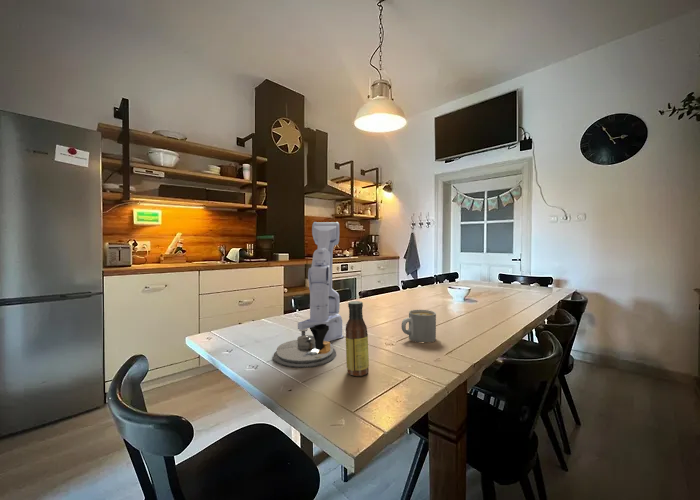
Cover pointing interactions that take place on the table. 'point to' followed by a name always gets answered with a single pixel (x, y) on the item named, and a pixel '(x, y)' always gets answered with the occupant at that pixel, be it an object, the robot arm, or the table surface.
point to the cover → (306, 343)
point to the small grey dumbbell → (303, 331)
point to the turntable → (303, 353)
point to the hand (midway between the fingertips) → (319, 349)
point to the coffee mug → (420, 325)
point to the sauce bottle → (356, 341)
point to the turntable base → (303, 365)
